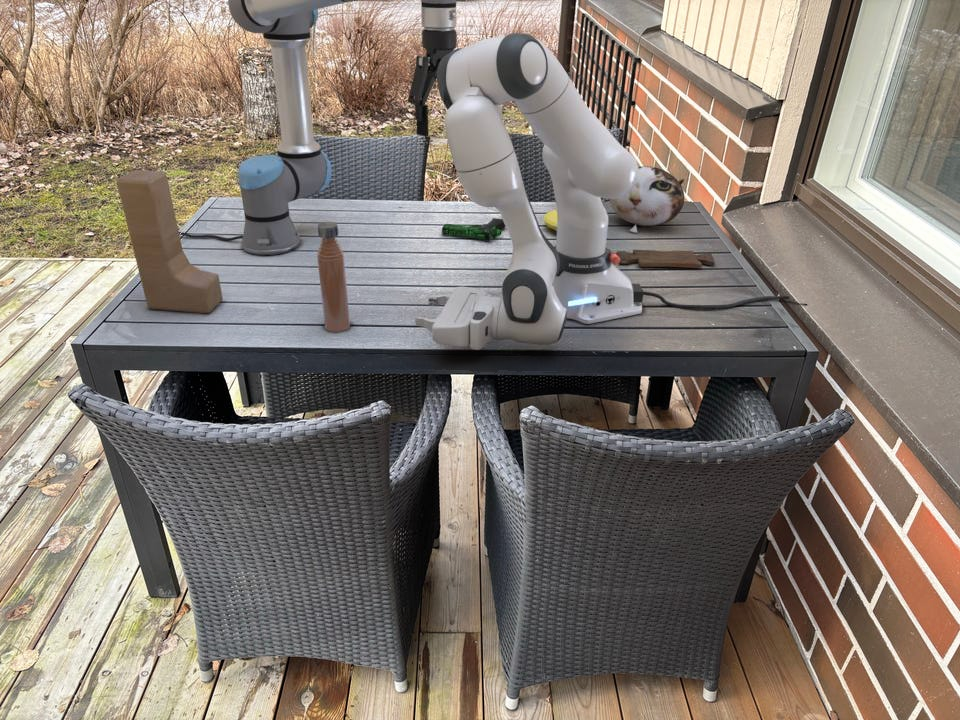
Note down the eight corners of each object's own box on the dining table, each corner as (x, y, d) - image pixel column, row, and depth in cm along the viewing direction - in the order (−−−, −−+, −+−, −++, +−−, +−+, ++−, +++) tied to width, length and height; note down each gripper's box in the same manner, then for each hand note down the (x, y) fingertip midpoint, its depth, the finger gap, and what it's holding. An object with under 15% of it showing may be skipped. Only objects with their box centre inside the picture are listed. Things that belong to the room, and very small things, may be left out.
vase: (559, 216, 220) (561, 193, 217) (605, 227, 212) (608, 204, 209) (532, 230, 209) (533, 207, 206) (580, 242, 201) (582, 218, 198)
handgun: (511, 219, 210) (493, 234, 198) (511, 228, 211) (492, 244, 199) (461, 212, 215) (440, 226, 203) (461, 221, 217) (440, 236, 204)
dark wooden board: (718, 270, 186) (709, 256, 195) (719, 264, 186) (710, 250, 194) (619, 267, 187) (614, 252, 195) (620, 261, 186) (615, 247, 194)
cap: (333, 230, 149) (332, 220, 148) (341, 236, 146) (340, 226, 145) (315, 234, 147) (314, 223, 146) (323, 240, 144) (321, 229, 143)
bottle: (344, 318, 160) (335, 220, 149) (354, 328, 156) (345, 228, 145) (321, 324, 158) (310, 224, 146) (330, 334, 154) (319, 233, 142)
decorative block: (209, 314, 161) (183, 183, 145) (146, 309, 162) (114, 179, 147) (224, 300, 167) (200, 172, 152) (163, 295, 169) (134, 168, 153)
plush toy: (590, 213, 207) (612, 150, 209) (606, 237, 223) (627, 178, 224) (664, 227, 196) (687, 160, 198) (675, 250, 212) (697, 189, 214)
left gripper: (417, 35, 143) (420, 142, 154) (485, 25, 161) (483, 122, 172) (388, 32, 147) (393, 137, 158) (458, 22, 165) (458, 117, 176)
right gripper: (497, 283, 155) (436, 276, 157) (476, 326, 137) (407, 318, 140) (497, 309, 158) (436, 302, 160) (476, 354, 141) (409, 346, 143)
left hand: (440, 129), depth 165 cm, fingers open, 13 cm apart
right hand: (422, 310), depth 150 cm, fingers open, 8 cm apart
